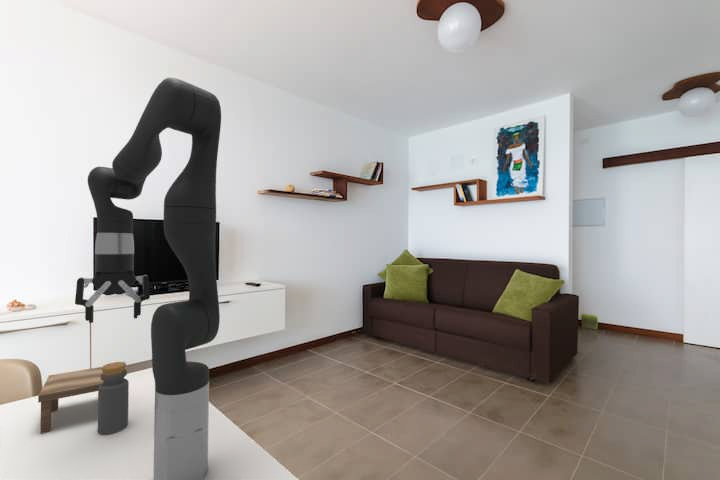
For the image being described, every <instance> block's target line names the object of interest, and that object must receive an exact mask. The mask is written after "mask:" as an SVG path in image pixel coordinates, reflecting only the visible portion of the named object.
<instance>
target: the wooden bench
mask: <svg viewBox="0 0 720 480" xmlns="http://www.w3.org/2000/svg"><path fill="white" fill-rule="evenodd" d="M102 367H103V366H99V367H93V368H87V369H82V370H81V369H80V370H73V371H69V372H62V373H61V372H60V373H56V374H50V375H48V376H47V379H46V381H45V382H44V384H43V386H42V387H41V390H40V392H39V393H38V397H37V399H38V401H37V402H38V404H39V403H40V426H39V427H40V428H39V429H40V431H39V433H40V434H45V433H49V432H51V429H52V413H54V412H58V410H59V399H64V398H69V397H74V396H79V395H84V394H90V393H95V392H98V388H99V386H100V384H102V383H103V382H104V381H103V380H101V374H102V373H103V371H102Z"/></svg>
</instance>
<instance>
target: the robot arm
mask: <svg viewBox="0 0 720 480" xmlns="http://www.w3.org/2000/svg"><path fill="white" fill-rule="evenodd" d="M221 126H222V108H221V105H220V100H219V99H218V97H217V96H216V95H215V94H214V93H212V92H210V91H208V90H206V89H203V88H202V87H199V86H197V85H194V84H191V83H190V82H187V81H185V80H181V79H180V78H177V77H166V78H164V79H163V80H161V82H160V83H159V84H158V85H157V87H155V89H154V91H153V93H151V96H150V98H149V100H148V102H147V103H146V107H145V108H144V110H143V112H142V114H141V116H140V118H139V121H138V123H137V124H136V127H135V129H134V131H133V133H132V135H131V137H130V139H128V141H127V143H126V144H125V145H124V146H123V147H122V149H120V151H118V153H117V155H116V156H115V157H114V159H113V160H112V164H111V167H107V166H96V167H94V168H92V169H91V170H90V172H89V173H88V176H87V186H88V190H89V192H90V195H91V198H92V201H93V205H94V209H95V213H96V237H95V244H94V245H95V247H94V276H93V277H91V278H90V277H89V278H87V277H79V278H78V279H77V281H76V288H75V299H74V303H75V305H76V306H83V307H84V308H85V313H84V314H85V315H84V319H85V321H87V322H88V323H89V324H92V323H94V309H95V308H94V304H95V302H96V301H97V300H98V299H99V298H100V297H101V296H102V295H104V296H112V295H117V296H119V295H124V294H126V293H127V294H128V296H129V297H130V298H131V299H132V300H133V301H134V302H133V319H138V317H139V316H141V315H142V313H141V312H142V306H141V305H142V302H144V301H147V300H150V299H151V298H150V297H151V293H150V292H151V291H150V277H149V275H147V274H144V275H138V276H135V271H134V269H135V266H134V265H135V240H134V239H135V238H134V213H133V211H131V210H129V209H127V208H123V207H119V206H117V205H115V204H114V202H113V201H112V199H119V200H127V201H128V200H134V199H136V198H139V197H140V196H141V194H142V192H143V187H144V185H145V182H146V179H147V177H149V176H150V175H151V173H152V172H153V171H154V170H156V168H157V167H158V166H159V164H160V162H161V160H162V156H163V150H162V145H161V140H160V134H161V133H162V132H163V131H165V130H166V129H172V130H175V131H178V132H181V133H185V134H188V135H191V150H190V156H189V159H188V162H186V163H187V164H186V165H185V167H184V168H183V169H182V171H181V173H179V175H178V176H177V177H176V179H174V181H173V183H172V184H171V185H170V187H169V189H168V190H167V191H166V194H165V196H164V199H163V200H164V201H163V232H164V237H165V239H166V241H167V243H168V245H169V247H170V248H171V249H172V251H173V253H174V254H175V256H176V258H178V260H179V262H180V263H181V265H182V267H183V269H184V271H185V273H186V276H187V281H188V290H189V291H188V292H189V293H188V297H189V298H188V300H187V299H186V300H182V301H174V302H169V303H165V304H161V305H160V306H157V308H156V309H155V311H154V312H153V314H152V318H151V323H150V340H151V345H150V346H151V364H152V368H151V369H152V374H153V378H154V419H153V420H154V422H153V423H154V425H153V427H154V429H153V433H154V434H153V475H152V476H153V477H152V478H153V480H204V476H205V475H206V473H207V472H208V470H209V469H208V468H209V467H208V466H209V465H208V464H209V410H210V409H209V406H210V405H209V404H210V403H209V401H210V368H209V367H208V365H207V364H205V363H203V362H199V361H187V356H186V351H187V350H190V349H194V348H197V347H200V346H204V345H207V344H208V343H211V342H212V341H214V340H215V338H216V337H217V335H218V332H219V328H220V321H221V320H220V319H221V317H220V315H221V314H220V305H219V304H220V303H219V293H218V282H217V270H216V269H217V268H216V266H217V265H216V262H217V261H216V234H217V190H216V188H217V165H218V164H217V163H218V153H219V146H220V145H219V143H220V136H221ZM136 281H137V282H138V283H139V284H140V285H142V292H143V293H142V295H138V293H137V292H136V291H135V289H133V288H132V286H133V285H134V284H135V282H136ZM91 283H92V284H93V286H94V287H95V288H96V291H95V292H94V293H93V294H91V296H90V297H89V299H85V298H84V294H85V292H84V291H85V289H86V288H88V287H89V285H90V284H91Z"/></svg>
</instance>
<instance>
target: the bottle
mask: <svg viewBox="0 0 720 480" xmlns="http://www.w3.org/2000/svg"><path fill="white" fill-rule="evenodd" d="M101 367H102V371H103V373H102V374H101V380H103V381H104V382H103V383H102V384H100V386H99V388H98V391H97V395H98V396H97V433H98V434H99V435H105V436H107V435H113V434H116V433H119V432H121V431H123V430H124V429H126V428H127V426H128V424H129V391H130V389H129V385H130V384H129V380H128V379H126V378H125V377H126V376H127V375H128V369H126V367H127V363H126V362H125V361H116V362H110V363H107V364H104V365H103V366H101Z"/></svg>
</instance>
